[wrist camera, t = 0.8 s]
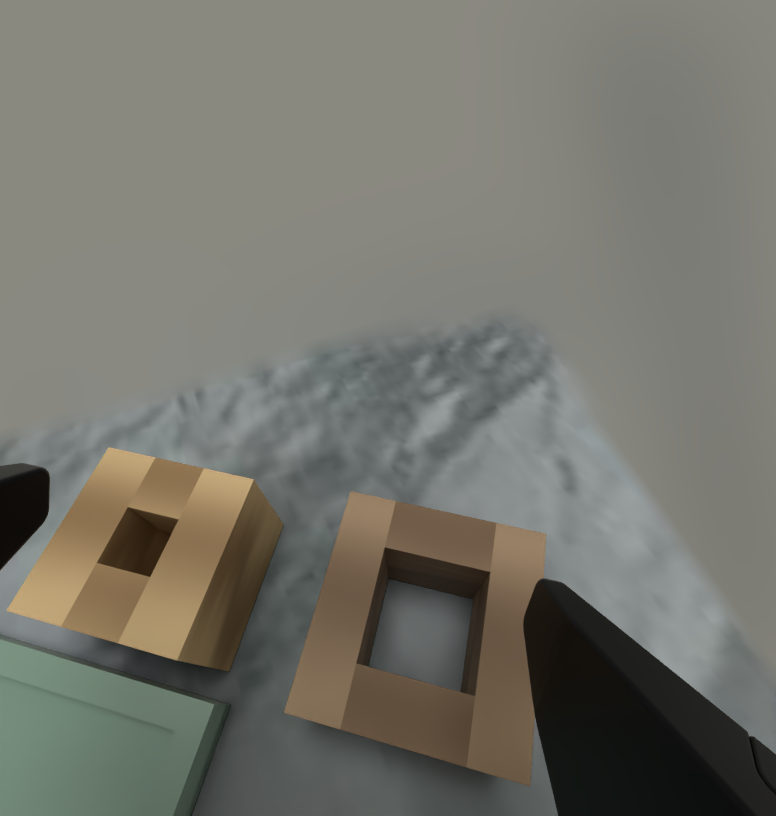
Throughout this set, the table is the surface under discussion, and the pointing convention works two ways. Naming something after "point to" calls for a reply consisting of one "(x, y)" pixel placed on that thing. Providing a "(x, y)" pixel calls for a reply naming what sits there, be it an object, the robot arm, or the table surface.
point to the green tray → (98, 738)
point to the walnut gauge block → (486, 647)
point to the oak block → (157, 559)
